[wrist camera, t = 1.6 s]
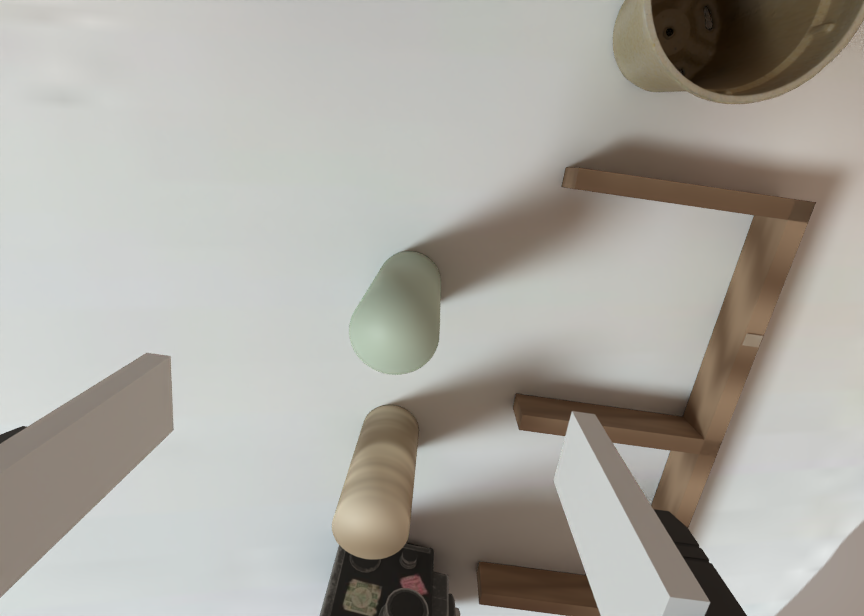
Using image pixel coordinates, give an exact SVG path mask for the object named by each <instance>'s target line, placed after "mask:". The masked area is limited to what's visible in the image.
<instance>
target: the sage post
mask: <svg viewBox="0 0 864 616" xmlns="http://www.w3.org/2000/svg"><path fill="white" fill-rule="evenodd" d="M440 299H441V277H440V273H439V271H438V269H437V267H436V265H435V264H434V263H433V261H432V260H430V259H429V258H428V257H426V256H425V255H423V254H421V253H418V252H412V251H406V252H400V253H397V254H395V255H393V256H392V257H390V258H389V259H388V260H387V261H386V262H385V263H384V264H383V266H382V267H381V269H380V271H379V272H378V274H377V276H376V277H375V279H374V280H373V282H372V284H371V285H370V287H369V288H368V290H367V292H366V293H365V295H364V296H363V298H362V300H361V301H360V303H359V304H358V306H357V308H356V309H355V311H354V313H353V315H352V317H351V321H350V325H349V336H350V341H351V345H352V347H353V349H354V351H355V353H356V354H357V356H358V357H359V358H360V359H361V360H362V361H363V362H364V363H365V364H366V365H367V366H369V367H371V368H372V369H374V370H376V371H378V372H382V373H385V374H392V375H400V374H407V373H410V372H413V371H415V370H417V369H419V368H421V367H422V366H423V365H425V364H426V363H427V362H428V361H429V360H430V359H431V357H432V356H433V354H434V353H435V351H436V348H437V346H438V342H439V330H440Z"/></svg>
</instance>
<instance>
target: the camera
mask: <svg viewBox="0 0 864 616" xmlns="http://www.w3.org/2000/svg"><path fill="white" fill-rule="evenodd" d="M433 555H434V550H433V549H432V548H430V549H428V548H424V547H419V546H415V545H410V544H405V545H404V546H403V548H402V549H401V550H400V551H398V552H397V553H395V554H394V555H392V556H389V557H387V558H383V559H364V558H360V557H357V556H354V555H352V554H350V553H348V552H347V551H345V550H344V549H343V548H342V547H341V546H340V545H339V547H338V551H337V554H336V558H335V562H334V565H333V569H332V573H331V576H330V580H329V583H328V587H327V591H326V594H325V598H324V602H323V605H322V609H321V613H320V616H460V611H459V608H455V600H454V598H453V596H452V594H449V593H448V575H445V574H440V573H436V572H433Z"/></svg>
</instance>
